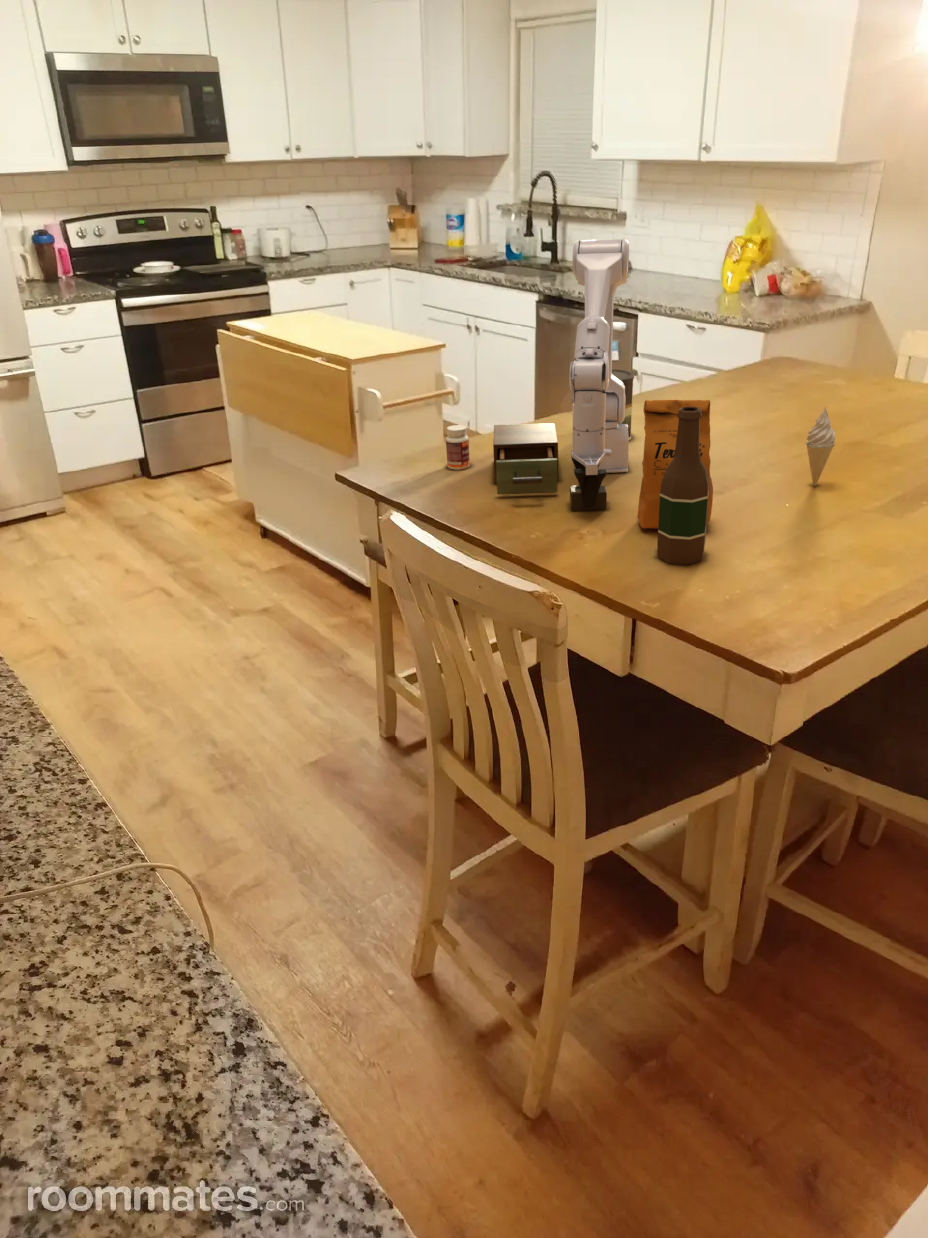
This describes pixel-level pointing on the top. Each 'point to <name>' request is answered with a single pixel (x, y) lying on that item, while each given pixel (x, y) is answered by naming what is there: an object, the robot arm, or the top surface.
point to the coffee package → (667, 452)
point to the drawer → (526, 470)
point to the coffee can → (626, 395)
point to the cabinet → (524, 438)
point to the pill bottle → (457, 447)
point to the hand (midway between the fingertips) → (588, 499)
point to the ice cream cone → (820, 445)
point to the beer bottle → (684, 496)
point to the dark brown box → (577, 502)
